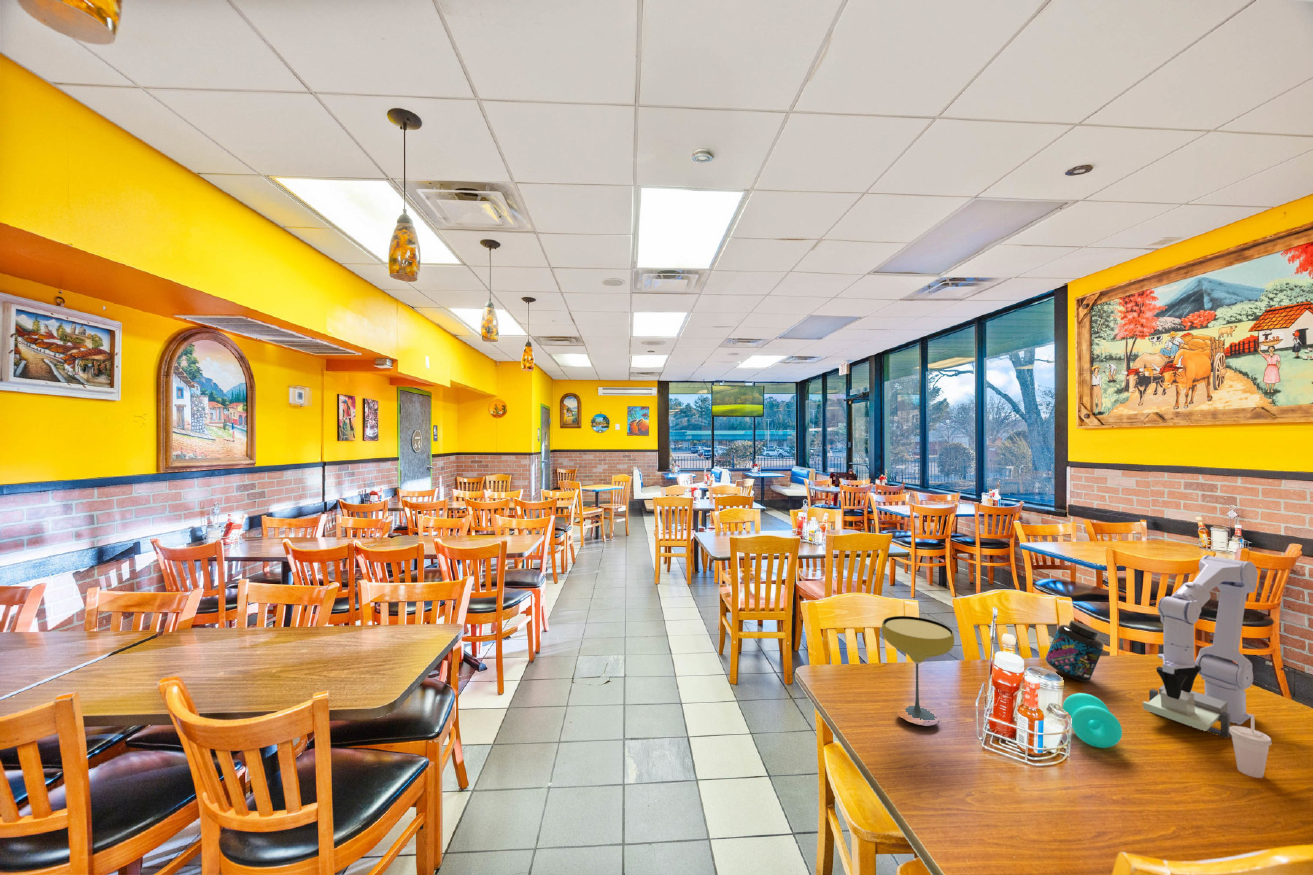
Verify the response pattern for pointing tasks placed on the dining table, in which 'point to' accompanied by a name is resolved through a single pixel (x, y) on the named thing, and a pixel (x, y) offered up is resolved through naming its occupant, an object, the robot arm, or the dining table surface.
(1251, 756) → the smoothie
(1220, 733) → the frame
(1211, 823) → the dining table surface
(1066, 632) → the container
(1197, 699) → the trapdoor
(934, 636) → the cocktail glass
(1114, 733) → the teal yo-yo
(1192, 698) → the grey cube
